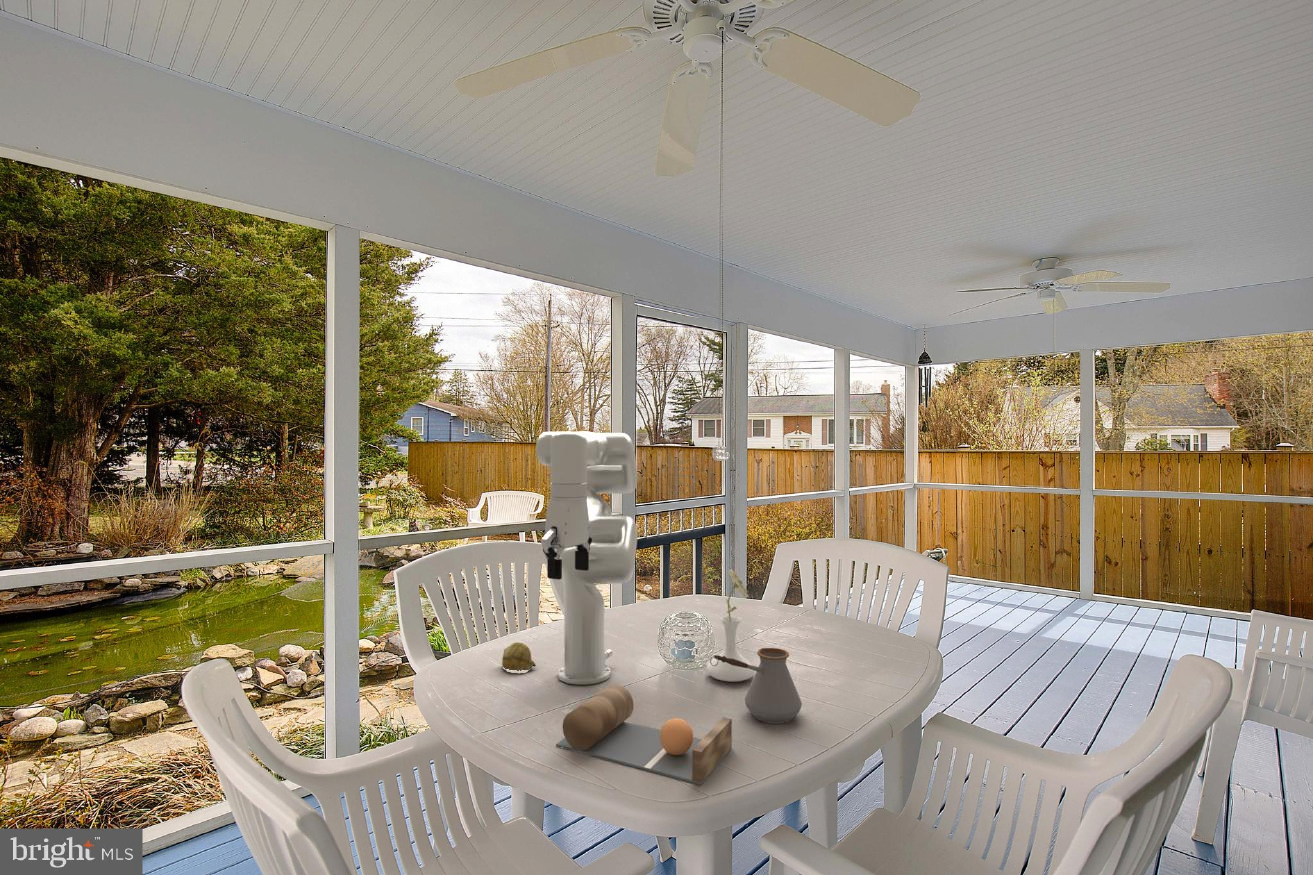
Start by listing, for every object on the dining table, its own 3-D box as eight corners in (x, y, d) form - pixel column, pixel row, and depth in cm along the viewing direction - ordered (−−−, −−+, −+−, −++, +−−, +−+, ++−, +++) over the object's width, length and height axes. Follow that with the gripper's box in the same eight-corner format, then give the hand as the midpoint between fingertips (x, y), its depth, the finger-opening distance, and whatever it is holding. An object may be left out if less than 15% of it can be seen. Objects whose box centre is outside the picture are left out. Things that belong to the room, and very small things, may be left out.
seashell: (531, 686, 159) (546, 655, 163) (522, 676, 153) (538, 645, 158) (498, 673, 162) (513, 644, 166) (488, 663, 157) (504, 633, 161)
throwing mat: (596, 717, 132) (596, 714, 132) (731, 748, 118) (731, 745, 118) (555, 746, 119) (555, 743, 119) (701, 785, 106) (701, 781, 106)
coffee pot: (774, 699, 140) (774, 630, 140) (813, 719, 131) (814, 644, 131) (694, 723, 129) (694, 647, 129) (731, 746, 119) (731, 664, 119)
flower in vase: (753, 688, 147) (753, 577, 147) (703, 684, 149) (703, 575, 149) (756, 668, 160) (756, 566, 160) (710, 664, 162) (710, 564, 162)
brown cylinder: (603, 716, 131) (603, 681, 131) (633, 723, 128) (633, 687, 128) (562, 745, 118) (562, 707, 118) (594, 754, 115) (595, 714, 115)
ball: (676, 750, 119) (663, 717, 120) (703, 741, 116) (690, 709, 118) (662, 764, 114) (648, 731, 115) (690, 756, 111) (676, 722, 112)
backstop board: (723, 744, 119) (723, 717, 119) (731, 746, 118) (731, 718, 118) (692, 780, 107) (692, 749, 107) (701, 782, 106) (701, 751, 106)
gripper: (577, 488, 144) (577, 565, 144) (527, 494, 129) (527, 580, 129) (606, 489, 141) (606, 568, 141) (558, 495, 125) (558, 584, 125)
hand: (568, 574), depth 135 cm, fingers open, 9 cm apart
